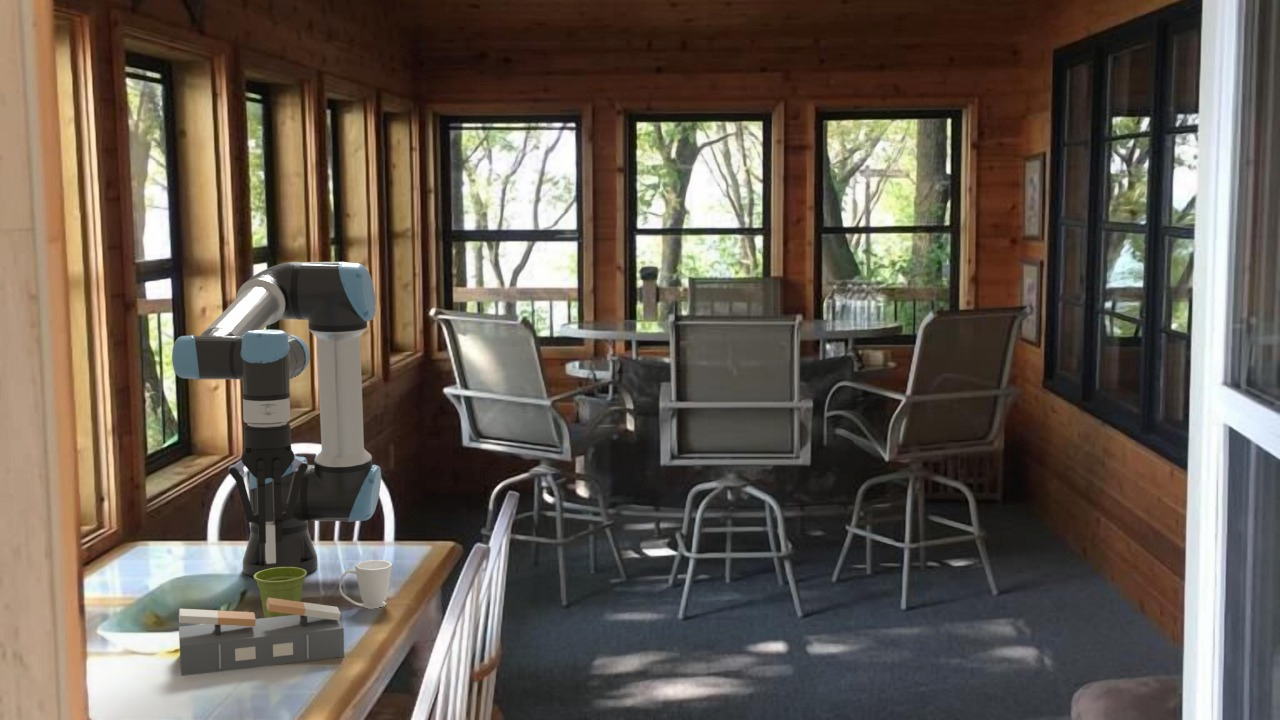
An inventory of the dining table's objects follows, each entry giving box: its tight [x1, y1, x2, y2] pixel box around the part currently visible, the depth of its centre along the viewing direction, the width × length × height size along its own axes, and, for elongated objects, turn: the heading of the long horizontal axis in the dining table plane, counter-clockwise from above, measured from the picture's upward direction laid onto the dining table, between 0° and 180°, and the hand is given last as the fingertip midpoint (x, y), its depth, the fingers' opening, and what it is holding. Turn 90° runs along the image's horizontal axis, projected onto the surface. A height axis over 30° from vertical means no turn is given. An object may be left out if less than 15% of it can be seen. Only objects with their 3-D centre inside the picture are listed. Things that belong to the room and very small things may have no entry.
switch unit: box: [178, 615, 345, 676], centre depth 217 cm, size 10×26×7 cm, turn 111°
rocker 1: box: [178, 608, 257, 626], centre depth 214 cm, size 4×12×1 cm, turn 111°
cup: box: [338, 559, 393, 610], centre depth 245 cm, size 7×10×8 cm
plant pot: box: [253, 567, 308, 618], centre depth 236 cm, size 9×9×9 cm
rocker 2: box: [266, 597, 341, 620], centre depth 219 cm, size 4×12×1 cm, turn 111°
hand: (270, 561), depth 216 cm, fingers closed
